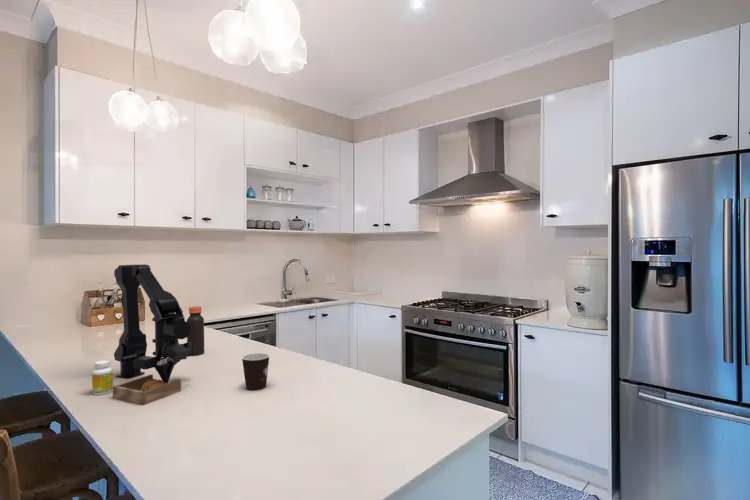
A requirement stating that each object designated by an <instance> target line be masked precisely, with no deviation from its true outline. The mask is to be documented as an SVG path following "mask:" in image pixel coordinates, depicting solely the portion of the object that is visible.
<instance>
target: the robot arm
mask: <svg viewBox="0 0 750 500" xmlns="http://www.w3.org/2000/svg"><path fill="white" fill-rule="evenodd" d="M113 274H114V278H115V282H116V284H117V286H118V287H119V288H120V289H121V297H122V299H121V300H122V317H123V332H122V333H121V335H120V337H119V338H118V346H117V348H116V350H115V351H114V353H113V357H114V361H117V362H119V363H120V365H119V366H120V373H119V374H116V376H115V377H117V378H122V379H133V378H135V377H138V376H141V375H144V374H145V372H144V371H142V370H149V369H152V368H154V369H155V371H156V372H157V373H158V376H159V377H160V378H161V379H160V380H162V381H164V382H165V383H166V384H167V383H169V381H170V378H171V375H172V372H173V370H174V367H175V365H177V364H178V363H180V362H181V361H182V360H187V358H188V357H189V358H190V357H193V356H192V355H194V349H193V348H192V343H190V342H187V341H186V342H184V343H179V340H185V339H187V336H188V335H189V334H190V331H191V327H190V325H189V323H188V322H187V320H186V319H185V316H184V313H183V312H184V311H183V310H182V308H181V306H180V304H179V302H178V301H179V300H177V298H176V297H175V296H174V295H173V294H172V293H171V292H169V291H166V290H164V288H163V286H162V285H161V284H160V282H159V280H158V279H157V278H156V277H155V275H154V273H153V272H152V270H151V266H150V265H149V264H146V263H145V264H143V263H142V264H120V265H118V266H117V268H115V269H114V273H113ZM140 286H141V287H142V288H141V289H143V291H144V292H145V294H146V296H147V298H148V299H149V303H148V307H149V309H150V312H151V313H152V315H153V318H152V319H151V321H152V322H154V331H155V333H154V338H153V339H152V343H153V344H154V345H155V347H154V348H155V349H154V350H155V351H152V356H149V355H146V354H147V350H148V349H147V348H148V344H147V334H146V333H143V332H142V330H141V329H140V328H141V327H140V310H139V306H140V305H139V293H138V290H139V287H140ZM185 320H186V321H185Z"/></svg>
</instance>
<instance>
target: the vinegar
mask: <svg viewBox="0 0 750 500" xmlns="http://www.w3.org/2000/svg"><path fill="white" fill-rule="evenodd" d="M188 314H189V317H188V318H187V319H186V322H188V323H189V325H190V327H191V331H190V334H189V335H188V336H187V337H186V343H187V342H190V343H192V348H193V349H194V355H192V356H191V357H195V356H201V355H203V354H205V318H204V317H203V316H202V315H201V314H202V306H190V307H188Z"/></svg>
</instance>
